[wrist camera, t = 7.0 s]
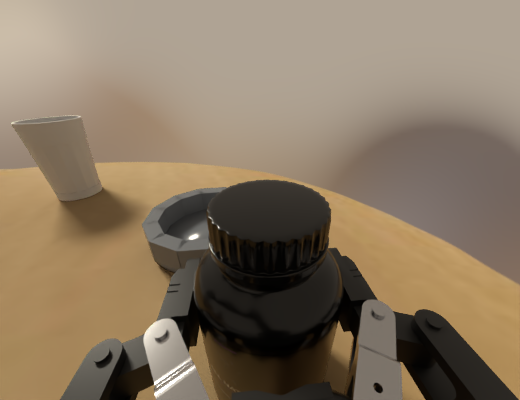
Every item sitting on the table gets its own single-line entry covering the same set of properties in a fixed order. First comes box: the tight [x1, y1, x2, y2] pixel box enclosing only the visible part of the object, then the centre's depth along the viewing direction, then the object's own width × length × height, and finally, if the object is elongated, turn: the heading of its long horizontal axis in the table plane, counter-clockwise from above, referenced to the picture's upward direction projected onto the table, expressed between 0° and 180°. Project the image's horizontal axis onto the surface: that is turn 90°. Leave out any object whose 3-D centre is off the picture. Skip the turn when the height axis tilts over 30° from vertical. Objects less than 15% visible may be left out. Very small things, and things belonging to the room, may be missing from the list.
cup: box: [11, 116, 103, 201], centre depth 36 cm, size 8×8×12 cm
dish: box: [142, 187, 226, 273], centre depth 26 cm, size 13×13×3 cm
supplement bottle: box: [193, 180, 344, 400], centre depth 12 cm, size 7×7×12 cm
